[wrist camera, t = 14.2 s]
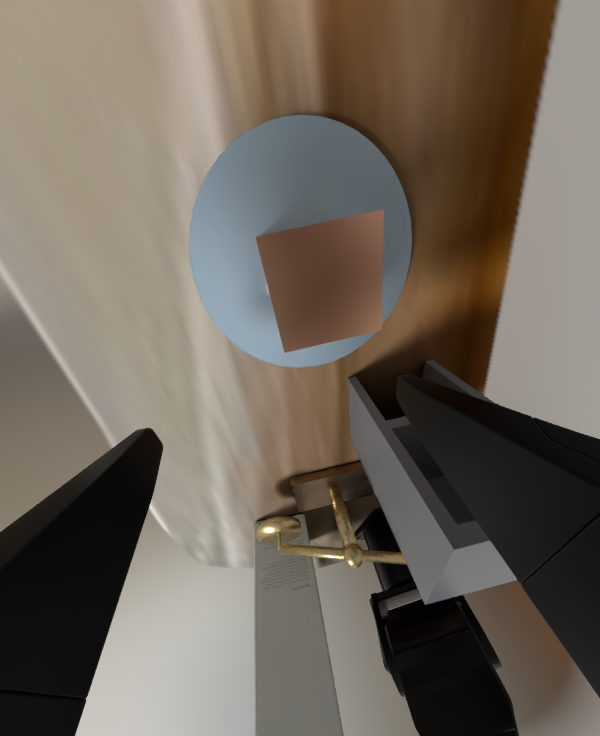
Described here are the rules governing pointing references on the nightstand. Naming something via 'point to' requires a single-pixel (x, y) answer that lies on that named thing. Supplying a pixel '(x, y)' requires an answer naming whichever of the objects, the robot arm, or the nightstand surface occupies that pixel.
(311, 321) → the block
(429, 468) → the empty hood
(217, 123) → the nightstand surface
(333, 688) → the skincare box
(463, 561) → the covering hood
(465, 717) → the robot arm
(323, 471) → the balance
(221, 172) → the dish
